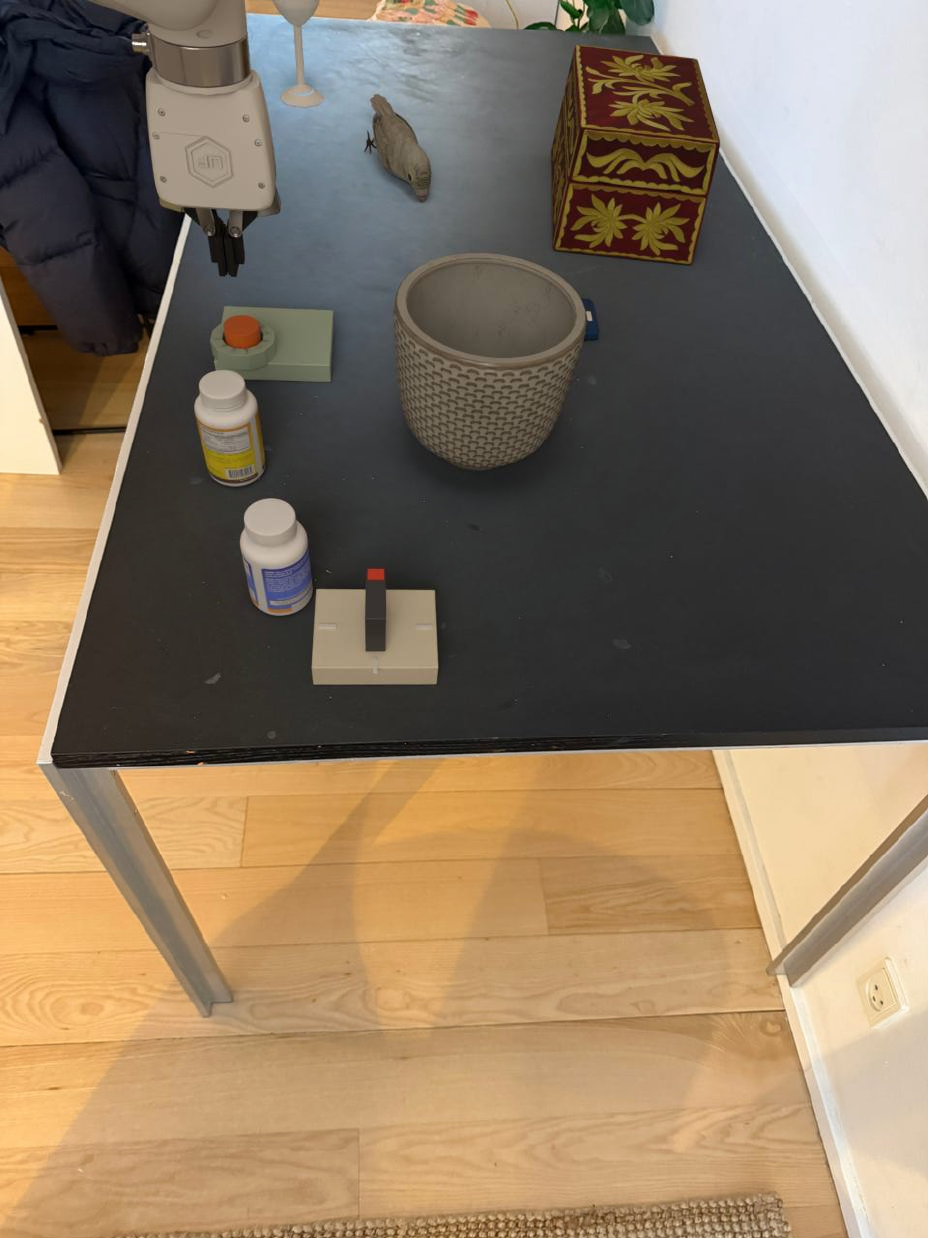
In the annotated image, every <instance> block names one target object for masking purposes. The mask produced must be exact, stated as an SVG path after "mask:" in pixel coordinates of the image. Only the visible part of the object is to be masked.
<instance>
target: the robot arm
mask: <svg viewBox="0 0 928 1238" xmlns="http://www.w3.org/2000/svg"><path fill="white" fill-rule="evenodd" d="M86 1H87V2H90V3H93V4H95V5H98V6H100V7H105V8H108V9H112V10H114V11H117V12H120V13H123V14H125V15H127V16H130V17H133V18H135V19H138V20H141V21H143V22H145V23H147V27H148V28H147V29H146V32H144V31H142V32H141V33H131V34H132V35H131V47H132V50H133V51H132V52H133V53H134V54H138V55H143V56H144V57H148V58H149V62H151V64H152V67H150V69H149V71H148V72H147V73H146V75H145V105H146V106H145V108H146V120H147V131H148V132H147V133H148V142H149V149H150V157H151V166H152V172H153V180H154V185H155V189H156V193H157V195H158V197H159V198H158V201H159V205H160V206H161V207H162V208H165V209H169V210H172V211H176V212H179V213H184V214H185V215H187V217H188V218H190V219H191V220H192V221H194V223H196V224H197V225H198V226H199V227H200V228H201V231H202V233H203V234H204V235H205V236H207V242H208V248H209V254H210V255H209V256H210V262H211V263H212V264H217V270H218V276H219V277H221V278H222V277H223V278H225V277H226V276H230V278H237V277H238V273H239V266H240V265H245V261H246V252H245V244H244V233H243V232H244V231H245V230H246V229H247V228H248V227H249V226H250V225H251V224H252V223H253V222H254V221H255V220H256V219H257V218H260V217H261V218H264V217H270V216H275V215H279V214H280V213H281V210H282V200H281V197H280V193H279V190H278V188H277V185H276V184H277V183H276V182H277V165H276V163H277V162H276V155H275V148H274V147H275V146H274V141H273V140H274V139H273V134H272V133H273V132H272V128H271V127H272V126H271V121H270V115H269V110H268V104H267V101H266V96H265V91H264V89H263V84H262V80H261V77H260V74H259V73H258V72H257V71H256V70H255V69H252V64H251V63H252V62H251V53H250V42H249V33H248V21H247V11H246V10H247V9H246V0H86ZM219 210H223V211H228V219H227V222H226V223H225V222H224V220H223V219H222V218H221V217H220V214H219Z"/></svg>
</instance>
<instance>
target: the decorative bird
mask: <svg viewBox="0 0 928 1238" xmlns="http://www.w3.org/2000/svg"><path fill="white" fill-rule="evenodd" d="M369 102H370V104H371V107H372V109H373V111H374V112H375V113H374V115H373V117H372V133H373V137H372V139H371V136H370V133H369V131H368V129H366V134H367V139H366V142H365V144H366V145H365V149H364V151H363V153H366V152H367V150H368V149H369V154H370V155H372V148H374V149H375V150H376V153H377V155H378V158H379V160H380V162H381V164H382V165H383V168H384V169H385V170H386V171H387V172H388V173H389V174H391V175H392V176H394V177H397V178H399V179H400V180H402V181H404V182H407V183H408V184H409V186H411V188H412V190H413V192H414V194H415V195H416V197H417V198H418V199H419V201H420V202H421V203H424V202H425V200H426V199H427V197H428V194H429V191H430V187H431V183H432V175H433V174H432V173H433V172H432V166H431V162H430V158H429V157H428V154H427V153H426V151H425V150H424V149H423V148H422V147H421V145H420V144H419V142H418V139H417V136H416V133H415V131H414V129H413V127H412V126H411V124H410V123H409V121H407V120H406V119H405V118H404V117H403V116H402V115H400V114H399V113H398V112H396V111H394V110H395V109H394V108H393V106H392V104H391V103H390V102H389V101H388V99H387V98H386V97H385V96H381V94H379V93H375V94H373V96H372V97H371V98H369Z"/></svg>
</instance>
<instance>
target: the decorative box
mask: <svg viewBox="0 0 928 1238" xmlns="http://www.w3.org/2000/svg"><path fill="white" fill-rule="evenodd" d="M720 147H721V139H720V136H719V131H718V128H717V124H716V121H715V116H714V113H713V110H712V106H711V102H710V99H709V96H708V92H707V87H706V84H705V81H704V77H703V73H702V70H701V67H700V63H699V60H698V58H694V57H687V56H678V55H669V54H660V53H653V52H643V51H636V50H635V51H634V50H627V49H617V48H609V47H601V46H593V45H592V46H591V45H584V44H575V46H574V48H573V53H572V56H571V61H570V65H569V69H568V74H567V78H566V84H565V88H564V93H563V96H562V101H561V105H560V111H559V113H558V118H557V123H556V128H555V133H554V138H553V141H552V146H551V150H550V160H551V161H550V166H551V167H550V169H551V170H550V171H551V172H550V173H551V174H550V175H551V228H552V229H551V231H552V233H551V235H552V248H553V250H554V251H560V252H567V253H577V254H584V255H595V256H604V257H613V258H623V259H632V260H640V261H649V262H650V261H651V262H657V263H658V262H659V263H669V264H677V265H688V266H689V265H692V264H693V262H694V259H695V255H696V251H697V246H698V242H699V238H700V235H701V234H700V233H701V229H702V226H703V221H704V217H705V212H706V208H707V204H708V198H709V195H710V191H711V186H712V183H713V178H714V175H715V170H716V165H717V161H718V157H719V152H720Z"/></svg>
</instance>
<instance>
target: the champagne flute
mask: <svg viewBox="0 0 928 1238" xmlns="http://www.w3.org/2000/svg"><path fill="white" fill-rule="evenodd" d="M272 3H273V5H274V7H275V8H276V10H277V12H278V13H279V15H281V17H283V18H284V19H285V20H286V22H287V23H289V24H290V25H291V26H293V41H294V42H293V43H294V57H295V72H296V74H295V75H296V83H295V84H293V85H292V86H290V87H288V88H287V89H285V90H283V92H281V93H280V94H279V99H280V100H281V101H282V102H283V103H284V104H286V105H289V106H291V107H295V108H296V107H297V108H309V107H315V106H318V105H320V104H322V103H323V101H324V95H323V94H322V93H321V92H319V91H318V90H316V89H314V88H313V87H312V86H309V85H308V84H306V81H305V78H306V77H305V65H304V61H305V60H304V47H303V27H302V26H303V25H305V24H307V22H309V20H310V19H311V18H312V17H313V16H314V15H315V14H316V11H317V9H318V8H319V5H320V0H272ZM312 89H313V90H314V92H313V93H312V94H310V95H307V96H298V95H294V94H300V95H301V94H305V93H310V92H311V91H312ZM289 91H290V92H291V93H290V92H289ZM292 93H294V94H292Z"/></svg>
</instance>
